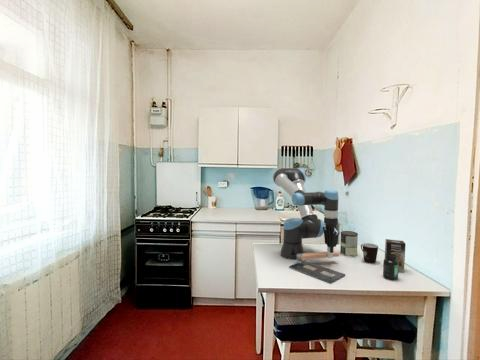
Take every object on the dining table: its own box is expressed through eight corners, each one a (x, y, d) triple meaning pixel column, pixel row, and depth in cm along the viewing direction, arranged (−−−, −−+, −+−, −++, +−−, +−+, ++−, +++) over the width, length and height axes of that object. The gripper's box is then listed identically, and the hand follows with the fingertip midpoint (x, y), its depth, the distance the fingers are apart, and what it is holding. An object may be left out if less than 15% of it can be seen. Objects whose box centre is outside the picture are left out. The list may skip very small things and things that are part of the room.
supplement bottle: (399, 281, 134) (400, 257, 133) (384, 279, 136) (385, 256, 135) (395, 275, 140) (396, 253, 140) (381, 274, 142) (382, 252, 142)
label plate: (289, 267, 151) (289, 261, 151) (304, 262, 160) (304, 255, 160) (330, 283, 131) (330, 276, 131) (345, 276, 140) (345, 269, 140)
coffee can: (337, 254, 174) (337, 232, 173) (344, 250, 181) (344, 230, 181) (353, 258, 167) (353, 235, 166) (359, 254, 174) (360, 232, 173)
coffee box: (385, 270, 147) (386, 241, 146) (383, 266, 153) (384, 238, 152) (404, 273, 144) (405, 243, 143) (402, 268, 150) (403, 240, 149)
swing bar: (298, 260, 151) (298, 256, 151) (295, 258, 155) (295, 253, 155) (338, 256, 157) (338, 252, 157) (334, 254, 161) (334, 250, 161)
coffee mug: (379, 264, 156) (380, 248, 155) (363, 263, 157) (364, 247, 157) (373, 258, 167) (374, 242, 166) (359, 257, 169) (359, 241, 168)
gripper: (343, 219, 148) (343, 260, 150) (329, 214, 161) (329, 253, 162) (332, 219, 146) (331, 262, 148) (318, 215, 159) (318, 254, 160)
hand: (330, 257), depth 155 cm, fingers closed
